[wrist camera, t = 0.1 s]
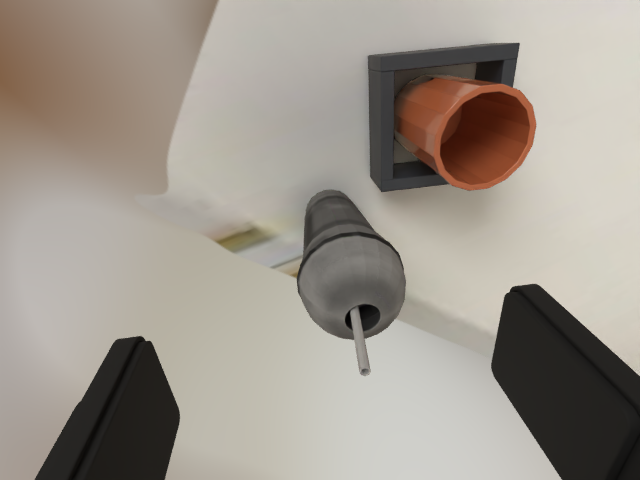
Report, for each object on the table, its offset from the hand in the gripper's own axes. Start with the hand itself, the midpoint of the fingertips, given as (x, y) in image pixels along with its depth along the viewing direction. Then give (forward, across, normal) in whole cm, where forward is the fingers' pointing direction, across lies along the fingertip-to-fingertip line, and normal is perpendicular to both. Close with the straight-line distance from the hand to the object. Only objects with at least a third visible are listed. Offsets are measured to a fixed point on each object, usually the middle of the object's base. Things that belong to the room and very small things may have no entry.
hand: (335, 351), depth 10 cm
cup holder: (+24, -12, -1) cm, 27 cm away
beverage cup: (+25, -2, +7) cm, 26 cm away
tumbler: (+24, -12, -1) cm, 27 cm away
